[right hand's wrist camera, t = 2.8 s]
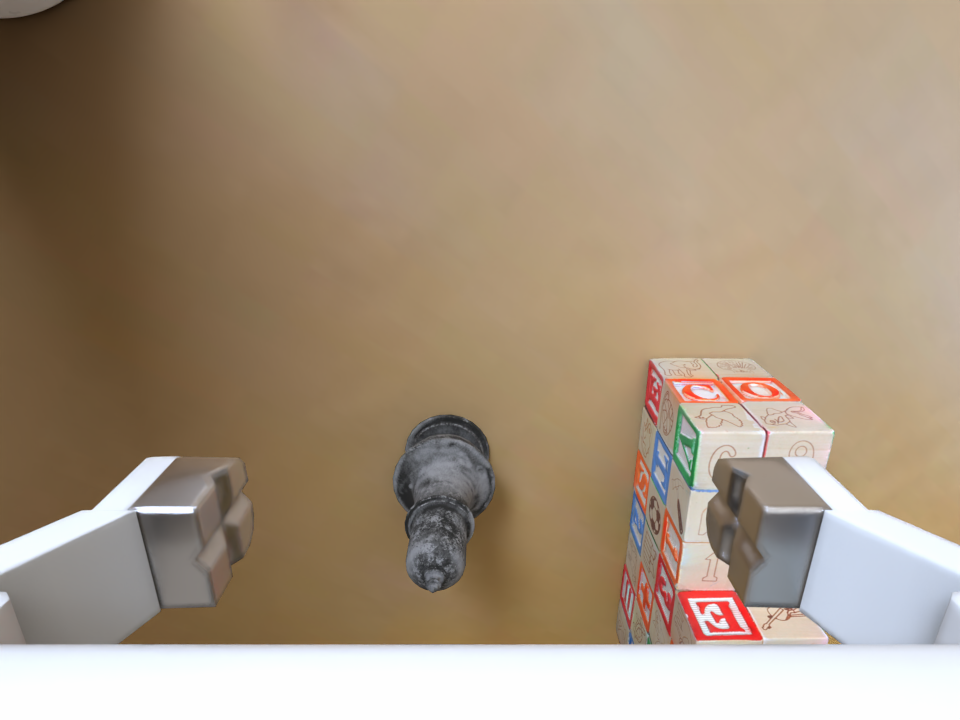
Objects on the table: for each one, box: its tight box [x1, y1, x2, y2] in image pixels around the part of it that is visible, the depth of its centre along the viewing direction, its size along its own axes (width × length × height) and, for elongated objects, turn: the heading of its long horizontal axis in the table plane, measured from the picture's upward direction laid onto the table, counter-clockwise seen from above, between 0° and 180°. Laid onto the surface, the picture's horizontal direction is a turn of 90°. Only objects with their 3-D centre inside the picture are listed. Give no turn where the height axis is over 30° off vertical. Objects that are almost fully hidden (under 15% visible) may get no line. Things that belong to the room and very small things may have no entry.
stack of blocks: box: [616, 358, 835, 644], centre depth 33 cm, size 21×6×12 cm, turn 0°
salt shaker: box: [393, 415, 495, 593], centre depth 31 cm, size 6×6×12 cm
